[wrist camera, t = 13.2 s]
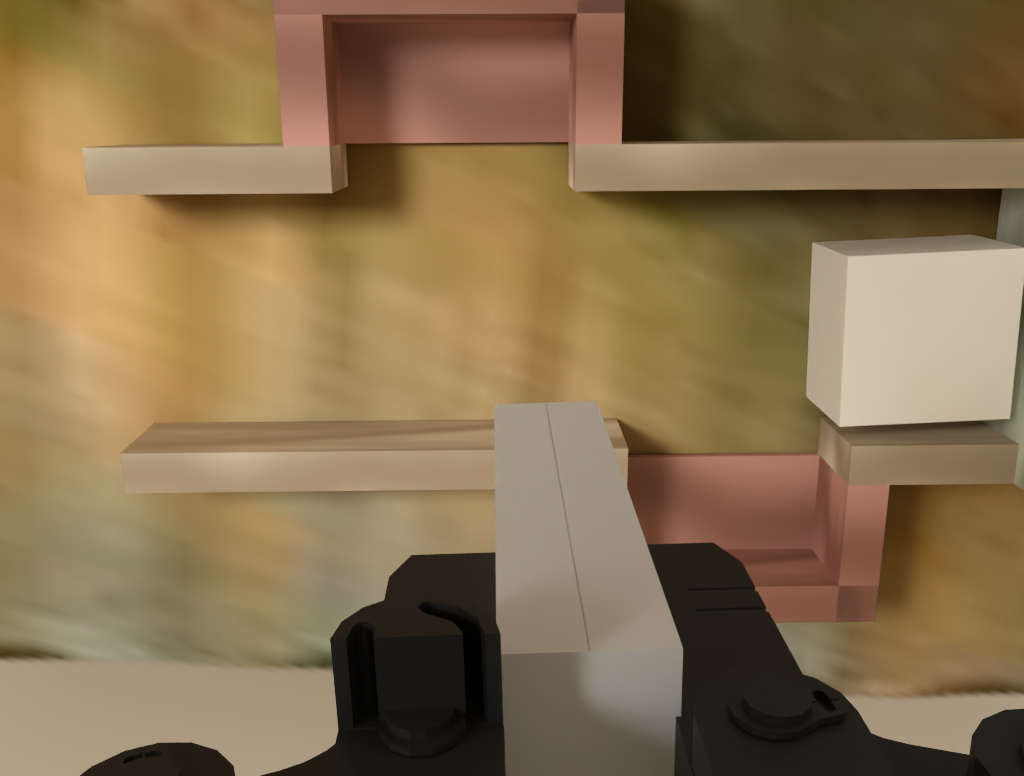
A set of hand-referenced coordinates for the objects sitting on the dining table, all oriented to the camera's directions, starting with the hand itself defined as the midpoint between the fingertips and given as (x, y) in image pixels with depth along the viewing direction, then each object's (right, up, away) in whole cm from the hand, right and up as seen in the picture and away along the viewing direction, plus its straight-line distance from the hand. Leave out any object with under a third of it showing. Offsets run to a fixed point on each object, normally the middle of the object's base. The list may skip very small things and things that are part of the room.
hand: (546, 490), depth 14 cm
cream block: (+14, +4, +23) cm, 27 cm away
